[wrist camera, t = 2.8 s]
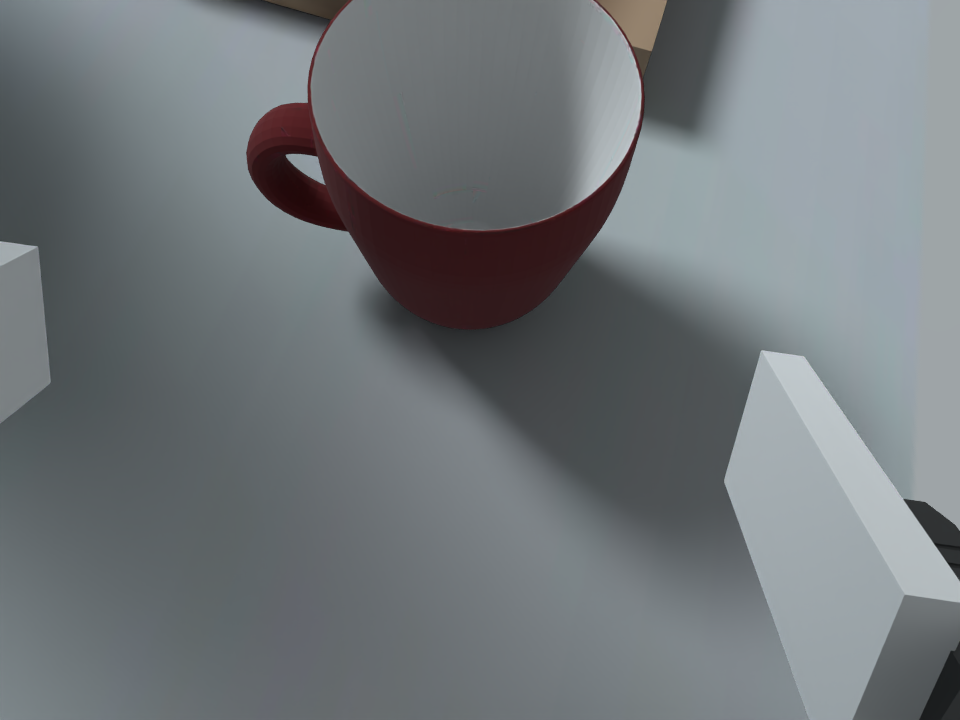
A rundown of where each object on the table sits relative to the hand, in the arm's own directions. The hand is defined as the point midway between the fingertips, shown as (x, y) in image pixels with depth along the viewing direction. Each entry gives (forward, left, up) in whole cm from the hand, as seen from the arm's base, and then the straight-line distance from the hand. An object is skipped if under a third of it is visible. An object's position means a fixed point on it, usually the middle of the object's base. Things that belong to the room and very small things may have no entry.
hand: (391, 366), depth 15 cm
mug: (-2, +8, -12) cm, 14 cm away
